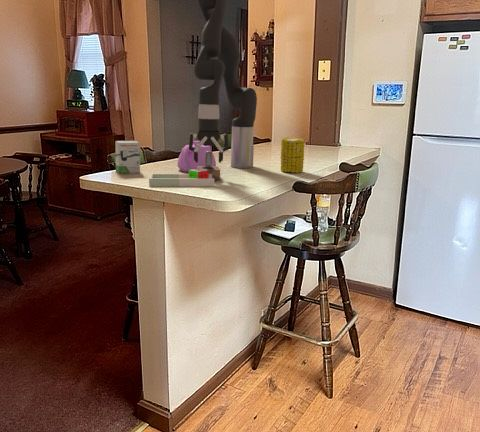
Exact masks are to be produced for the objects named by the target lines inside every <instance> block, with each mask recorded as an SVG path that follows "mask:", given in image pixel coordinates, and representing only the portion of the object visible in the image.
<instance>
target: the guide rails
mask: <svg viewBox="0 0 480 432" xmlns="http://www.w3.org/2000/svg"><path fill="white" fill-rule="evenodd" d="M177 174H178V178H179V186H178V187H215V181H214V178H212V174H209V178H189V173H177Z"/></svg>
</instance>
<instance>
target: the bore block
mask: <svg viewBox="0 0 480 432" xmlns="http://www.w3.org/2000/svg"><path fill="white" fill-rule="evenodd" d="M197 169H204V170H209V174H212V178H214V182H216V181H221V168H220V167H219V166H218V165H216V166H212V169H205V166H197Z"/></svg>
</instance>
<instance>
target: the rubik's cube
mask: <svg viewBox="0 0 480 432" xmlns="http://www.w3.org/2000/svg"><path fill="white" fill-rule="evenodd" d="M188 174H189V178H209V170H204V169H192V170H189V172H188Z"/></svg>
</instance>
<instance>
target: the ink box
mask: <svg viewBox="0 0 480 432" xmlns="http://www.w3.org/2000/svg"><path fill="white" fill-rule="evenodd" d="M140 150H141V143H140V142H139V141H137V140H115V172H116V173H117V174H131V173H132V174H133V173H134V174H135V173H141V151H140Z"/></svg>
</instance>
